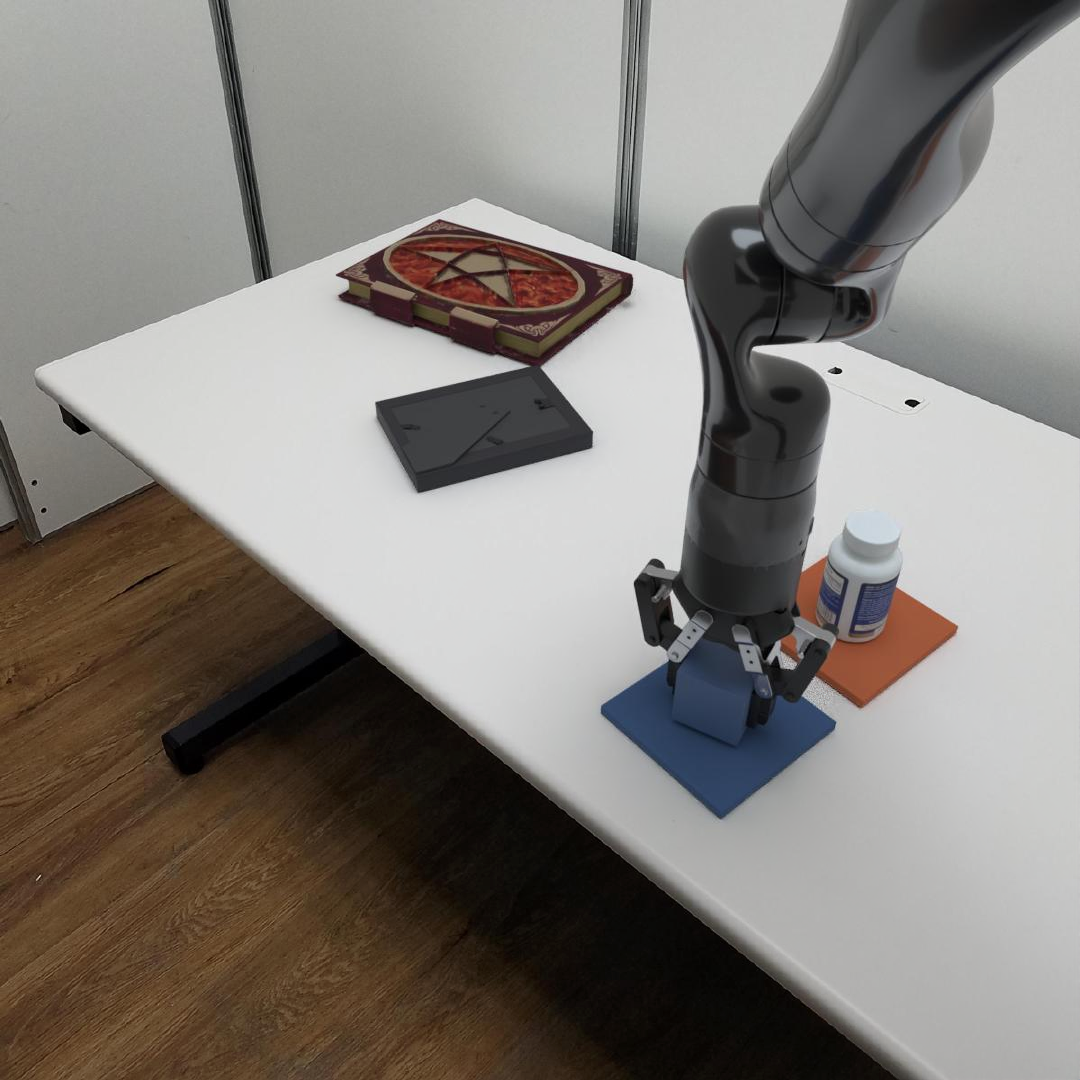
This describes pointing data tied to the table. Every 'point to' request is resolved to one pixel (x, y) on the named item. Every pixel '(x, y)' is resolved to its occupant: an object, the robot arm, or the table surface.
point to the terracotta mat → (872, 642)
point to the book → (486, 290)
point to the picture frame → (481, 427)
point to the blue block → (713, 691)
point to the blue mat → (715, 742)
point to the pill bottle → (861, 576)
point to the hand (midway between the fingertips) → (718, 703)
